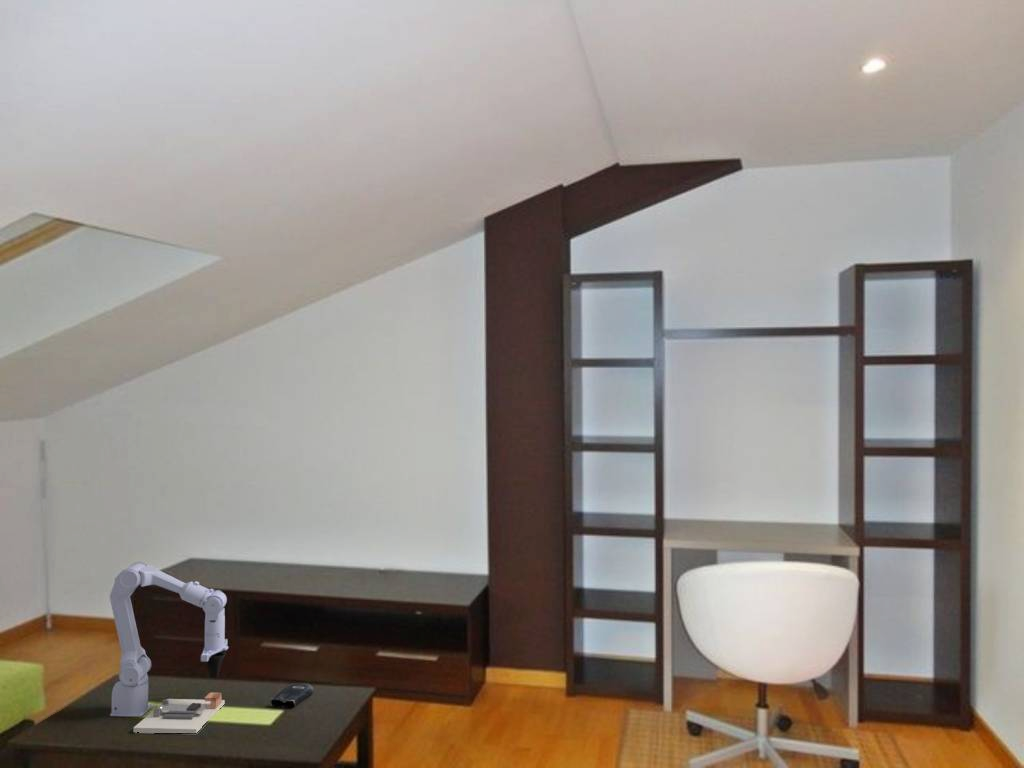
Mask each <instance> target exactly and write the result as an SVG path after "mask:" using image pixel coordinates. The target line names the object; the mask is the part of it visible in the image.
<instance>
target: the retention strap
mask: <svg viewBox="0 0 1024 768" xmlns="http://www.w3.org/2000/svg"><path fill="white" fill-rule="evenodd" d="M158 706H159V705H158ZM159 707H160V712H168V713H190V714H202V713H203V712H204V711H205V710H206V709H207V706H205V705H201V703H192V704H191V705H183V704H166V703H163V704H162V703H161V704H160V706H159Z"/></svg>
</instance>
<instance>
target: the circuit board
mask: <svg viewBox="0 0 1024 768" xmlns="http://www.w3.org/2000/svg"><path fill="white" fill-rule="evenodd" d="M225 701H226V700H225V699H222V700H221V704H220V705H219V706H218V707H217V708H210V705H211V701H205V699H194V698H193V699H191V698H190V699H189V698H187V699H186V698H183V699H182V698H180V699H179V698H167V699H162V701H161V704H163V703H166V704H183V705H191V704H192V703H201V705H205V706H207V709H206V710H205V711H204V712H203V713H202V714H190V713H168V712H160V707H159V706H160V705H161V704H160V705H158V706H153V708H152V709H153V711H151V712H150V713H149V714H147V715H146V716H145V717H144V718H143V719H142V720H141V721H139V723H137V724H135V726H133V731H132V733H133V732H135V733H134V734H154V733H197V732H198V731H199V730H200V729H201V728H202V726H203V725H204V724H205V723H206V722H207V721H208V720H209V719H210V718H211V717H212V716H213V715H214V714H215V713H216V711H218V710H219V709H220V708H221V707H222V706H223V705H224V704H226V703H225ZM224 706H225V705H224ZM224 706H223V707H224ZM223 707H222V708H223ZM222 708H221V709H222ZM221 709H220V710H221ZM220 710H219V711H220ZM219 711H218V712H219ZM216 714H217V713H216ZM202 729H203V728H202ZM202 729H201V730H202ZM201 730H200V731H201ZM200 731H199V732H200ZM137 732H139V733H137ZM199 732H198V733H199ZM198 733H197V734H198Z"/></svg>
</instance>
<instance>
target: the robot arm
mask: <svg viewBox="0 0 1024 768" xmlns="http://www.w3.org/2000/svg"><path fill="white" fill-rule="evenodd" d="M152 585H156V586H158V587H160V588H163V589H165V590H168V591H171V592H173V593H174V592H175V593H177V594H179V596H180V599H181V600H183V601H185V602H187V603H190V604H192V605H194V606H196V607H199V608H202V611H204V613H205V618H204V647H203V649H202V653H201V655H200V662H204V663H205V665H206V666H207V670H208V675H209V678H212V679H213V678H215V679H216V678H218V677H219V675H220V673H221V672H220V671H221V668H222V663H223V661H224V658H225V656H226V654H227V651H228V649H229V646H228V638H225V633H226V630H225V629H226V625H225V624H226V618H225V617H226V616H225V613H226V612H225V610H226V609H225V606H226V604H227V601H228V598H227V595H226V594H225V593H224V592H223V591H222V590H220V589H217V590H215V589H213V588H207V587H205V586H204V585H203V586H202V585H200V582H199V581H197V580H196V581H194V582H193V581H188V582H184V581H182V580H179V579H177V578H176V577H174V576H172V575H170V574H167V573H165V572H163V571H162V570H160V569H158V568H156V567H155V566H154V565H151V564H147V563H145V562H142V561H138V562H134V563H132V564H131V565H130V566H128V567H126V568H125V569H123V570H121V572H119V573H118V575H117V576H116V577H115V578H114V583H113V586H112V589H111V591H110V593H109V601H110V605H111V610H112V614H113V618H114V623H115V628H116V633H117V637H118V642H119V647H120V650H121V657H120V660H119V666H120V670H119V674H118V678H119V681H117V682H115V684H114V686H113V688H112V691H111V713H109V716H110V717H130V718H131V717H134V718H135V717H136V718H139V717H141V718H142V717H143V716H144V715H145V714H146V713H147V712H149V710H151V709H153V708H154V707H155V706H154V703H153V704H152V703H149V676H148V672H149V671H150V670H151V668H152V661H151V659H150V657H148V656H147V654H146V650H145V649H144V648H143V647H142V645H141V642H140V641H141V640H140V637H139V632H138V628H137V623H136V618H135V614H134V610H133V604H132V599H131V596H132V594H133V593H134V592H135V590H136V589H137V588H138V586H140V587H146V586H152ZM150 708H151V709H150Z"/></svg>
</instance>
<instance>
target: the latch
mask: <svg viewBox="0 0 1024 768" xmlns="http://www.w3.org/2000/svg"><path fill="white" fill-rule="evenodd" d="M222 696H223V695H222V692H209V693H208V694H207V695H206V696H204V700H205V701H211V705H210V708H217V707H218V706H219V705H220V704H221V700H223V698H222Z"/></svg>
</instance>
